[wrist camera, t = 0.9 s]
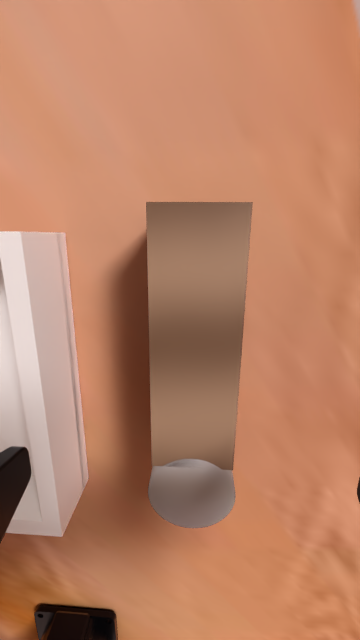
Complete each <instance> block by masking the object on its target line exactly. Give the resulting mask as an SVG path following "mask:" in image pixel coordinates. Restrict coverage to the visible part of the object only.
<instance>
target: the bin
mask: <svg viewBox="0 0 360 640" xmlns="http://www.w3.org/2000/svg"><path fill="white" fill-rule="evenodd" d="M11 446H22V447H26V448H27V449H28V452H29V458H30V464H31V478H30V481H29V483H28V485H27V487H26V490H25V492H24V494H23V496H22V498H21V500H20V503H19V505H18V507H17V509H16V511H15V513H14V516H13V518H12V520H11V522H10V524H9V526H8V528H7V531H6V533H15V534H29V535H43V536H57V537H62V536H63V534H64V532H65V530H66V528H67V525H68V523H69V521H70V519H71V517H72V514H73V512H74V510H75V508H76V505H77V503H78V501H79V499H80V497H81V494H82V492H83V490H84V488H85V486H86V483H87V481H88V479H89V476H88V466H87V455H86V445H85V435H84V424H83V414H82V403H81V393H80V383H79V372H78V362H77V352H76V341H75V331H74V320H73V310H72V300H71V289H70V279H69V268H68V258H67V248H66V237H65V233H59V232H1V231H0V452H2V451H3V450H5V449H7V448H9V447H11Z"/></svg>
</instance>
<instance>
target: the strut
mask: <svg viewBox="0 0 360 640" xmlns="http://www.w3.org/2000/svg"><path fill="white" fill-rule="evenodd" d="M252 203H253V202H146V215H147V263H148V310H149V357H150V405H151V452H152V466H153V467H152V472H151V477H150V482H149V487H148V496H149V500H150V503H151V505H152V507H153V508H154V510H155V511H156V512H157V513H158V514H159V515H160V516H161V517H162V518H163V519H165V520H166V521H168V522H170V523H172V524H174V525H177V526H181V527H186V528H203V527H207V526H211V525H213V524H216V523H218V522H219V521H221V520H222V519H224V518H225V517H226V516H227V515H228V514H229V512H230V511H231V509H232V508H233V505H234V502H235V487H234V480H233V473H232V470H233V462H234V448H235V435H236V421H237V408H238V394H239V380H240V367H241V353H242V339H243V326H244V312H245V299H246V285H247V271H248V258H249V244H250V230H251V217H252Z"/></svg>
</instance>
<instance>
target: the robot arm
mask: <svg viewBox="0 0 360 640" xmlns="http://www.w3.org/2000/svg"><path fill="white" fill-rule="evenodd" d="M30 478H31V464H30V458H29V452H28V449H27V448H26V447H22V446H11V447H9V448H7V449H5V450H3V451H2V452H0V543H1V541H2V539H3V537H4V535H5V533H6V531H7V528H8V526H9V524H10V522H11V520H12V518H13V516H14V513H15V511H16V509H17V507H18V505H19V503H20V500H21V498H22V496H23V494H24V492H25V490H26V487H27V485H28V483H29V481H30ZM357 496H358V500H359V502H360V478H359V483H358V487H357ZM34 616H35V621H36V627H37V632H38V637H39V640H118V634H117V621H116V614H115V613H114V612H111V611H103V610H91V609H79V608H67V607H56V606H44V605H40V606H38V607H37V609H36V611H35V614H34Z"/></svg>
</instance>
